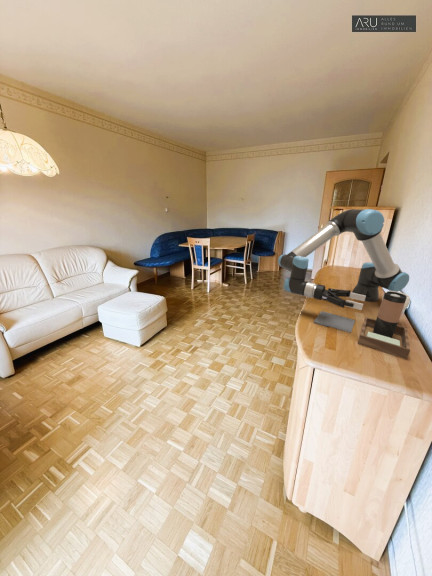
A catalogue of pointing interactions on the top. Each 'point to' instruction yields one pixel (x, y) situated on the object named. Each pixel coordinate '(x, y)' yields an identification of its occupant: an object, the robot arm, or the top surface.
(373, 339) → the brown wooden tray
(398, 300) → the travel mug
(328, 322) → the charcoal mat
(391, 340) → the top offcut
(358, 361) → the top surface
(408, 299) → the cup
